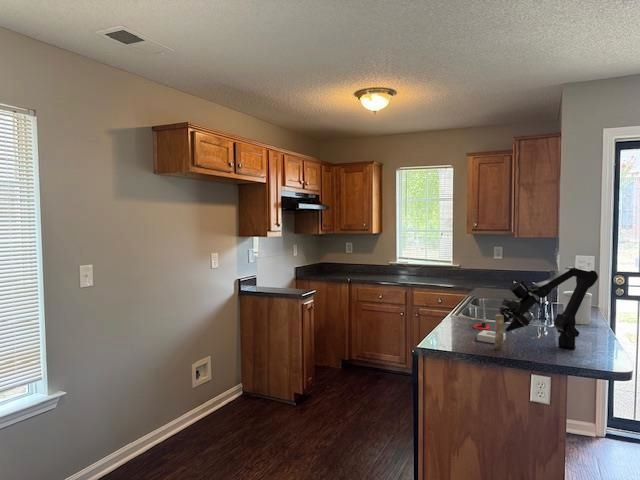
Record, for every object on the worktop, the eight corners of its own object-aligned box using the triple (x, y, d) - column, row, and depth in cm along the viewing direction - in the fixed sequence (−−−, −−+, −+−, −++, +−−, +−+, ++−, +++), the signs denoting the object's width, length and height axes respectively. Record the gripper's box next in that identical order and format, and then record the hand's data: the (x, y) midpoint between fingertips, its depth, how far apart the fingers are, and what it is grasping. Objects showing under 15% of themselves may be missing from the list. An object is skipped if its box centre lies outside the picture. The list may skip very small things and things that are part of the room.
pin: (503, 348, 205) (504, 315, 204) (502, 350, 202) (502, 316, 201) (496, 347, 207) (496, 314, 206) (494, 349, 204) (494, 315, 204)
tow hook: (485, 331, 238) (492, 327, 245) (485, 308, 237) (491, 305, 244) (470, 329, 244) (477, 325, 251) (470, 306, 243) (477, 303, 250)
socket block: (505, 339, 221) (505, 333, 221) (500, 344, 212) (500, 338, 212) (483, 335, 228) (483, 330, 228) (477, 340, 219) (477, 334, 219)
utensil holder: (564, 318, 270) (564, 290, 269) (592, 321, 261) (592, 292, 260) (560, 322, 258) (561, 293, 257) (590, 326, 249) (591, 296, 248)
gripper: (503, 290, 213) (481, 312, 213) (523, 296, 195) (499, 321, 194) (518, 305, 214) (496, 328, 214) (540, 314, 196) (515, 338, 195)
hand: (501, 328), depth 204 cm, fingers open, 9 cm apart
